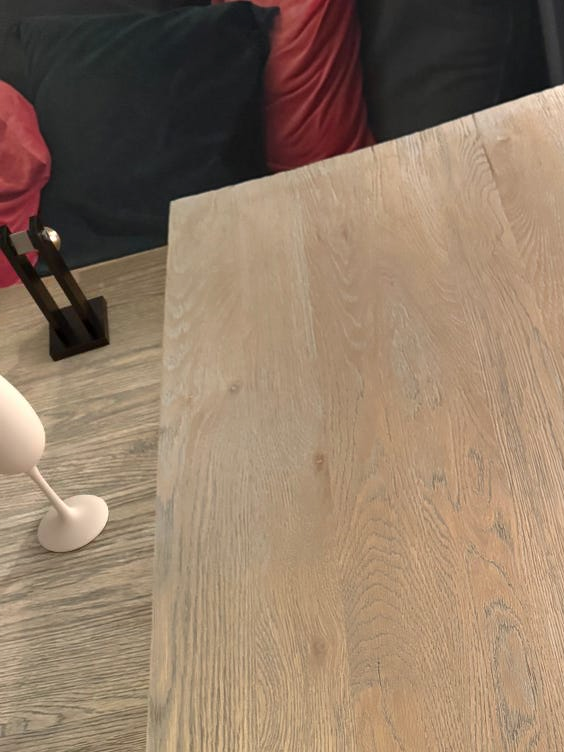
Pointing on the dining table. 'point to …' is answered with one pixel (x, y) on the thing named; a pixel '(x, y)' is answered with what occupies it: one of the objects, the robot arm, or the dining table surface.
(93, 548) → the dining table surface
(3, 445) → the wineglass
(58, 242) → the lever
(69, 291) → the bracket
